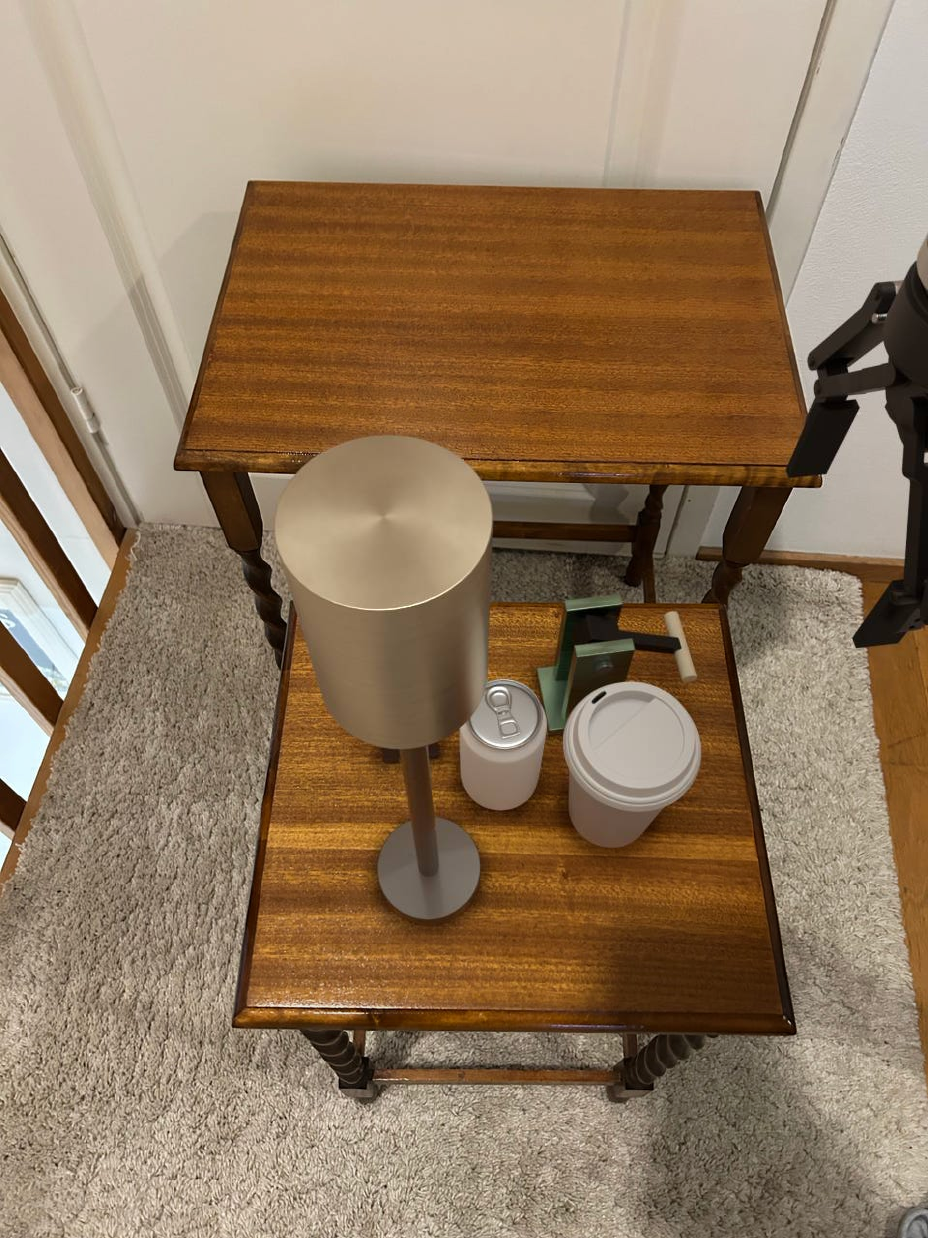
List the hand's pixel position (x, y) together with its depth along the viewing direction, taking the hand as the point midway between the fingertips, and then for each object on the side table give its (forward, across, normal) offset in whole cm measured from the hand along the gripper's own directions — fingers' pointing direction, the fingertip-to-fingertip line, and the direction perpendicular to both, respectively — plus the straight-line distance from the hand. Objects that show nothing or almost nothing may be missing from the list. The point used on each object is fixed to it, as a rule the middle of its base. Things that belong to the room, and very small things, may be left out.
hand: (838, 552), depth 61 cm
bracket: (+23, -2, -14) cm, 27 cm away
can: (+23, +4, -22) cm, 32 cm away
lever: (+14, -2, -12) cm, 19 cm away
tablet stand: (+23, -2, -29) cm, 37 cm away
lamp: (+23, +11, -29) cm, 39 cm away
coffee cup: (+23, +8, -14) cm, 28 cm away
